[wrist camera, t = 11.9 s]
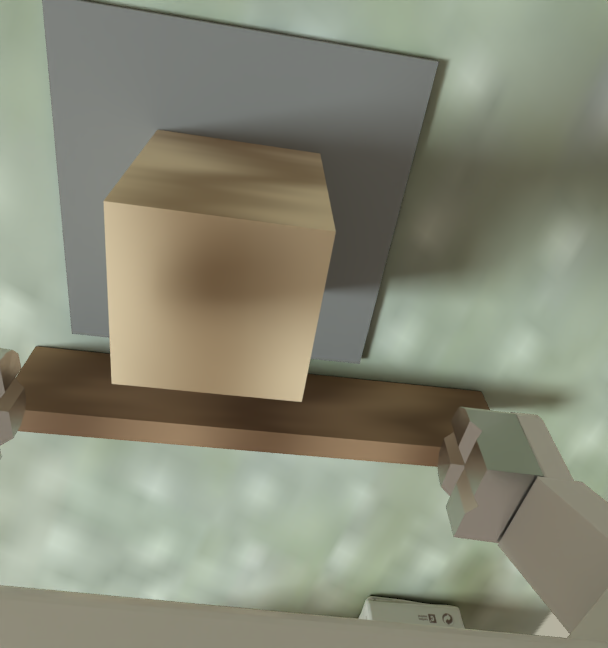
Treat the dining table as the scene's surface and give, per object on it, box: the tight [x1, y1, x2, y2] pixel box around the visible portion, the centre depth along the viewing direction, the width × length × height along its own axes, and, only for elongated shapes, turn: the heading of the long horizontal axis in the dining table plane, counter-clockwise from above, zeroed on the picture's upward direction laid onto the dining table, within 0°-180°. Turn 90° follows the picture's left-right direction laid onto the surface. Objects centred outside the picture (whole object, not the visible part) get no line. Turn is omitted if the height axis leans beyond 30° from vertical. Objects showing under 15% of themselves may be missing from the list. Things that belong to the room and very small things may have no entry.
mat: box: [42, 0, 439, 364], centre depth 18 cm, size 11×11×1 cm
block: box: [103, 130, 336, 402], centre depth 16 cm, size 5×5×6 cm
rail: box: [16, 346, 490, 467], centre depth 21 cm, size 18×1×4 cm, turn 81°
